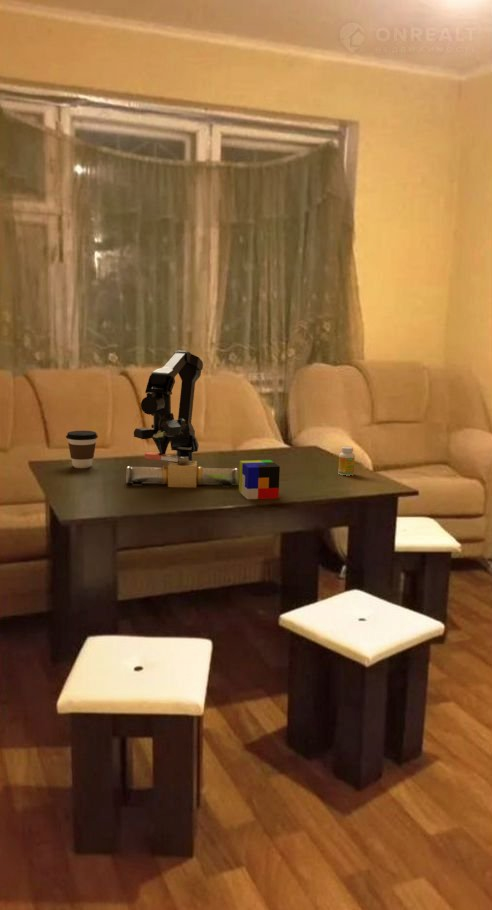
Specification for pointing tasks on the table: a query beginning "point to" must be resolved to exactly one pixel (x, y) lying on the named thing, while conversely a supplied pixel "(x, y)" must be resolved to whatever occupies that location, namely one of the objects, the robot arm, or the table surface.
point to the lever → (166, 457)
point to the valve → (182, 475)
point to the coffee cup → (82, 447)
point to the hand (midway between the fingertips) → (162, 456)
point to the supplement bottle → (346, 461)
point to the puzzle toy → (259, 479)
